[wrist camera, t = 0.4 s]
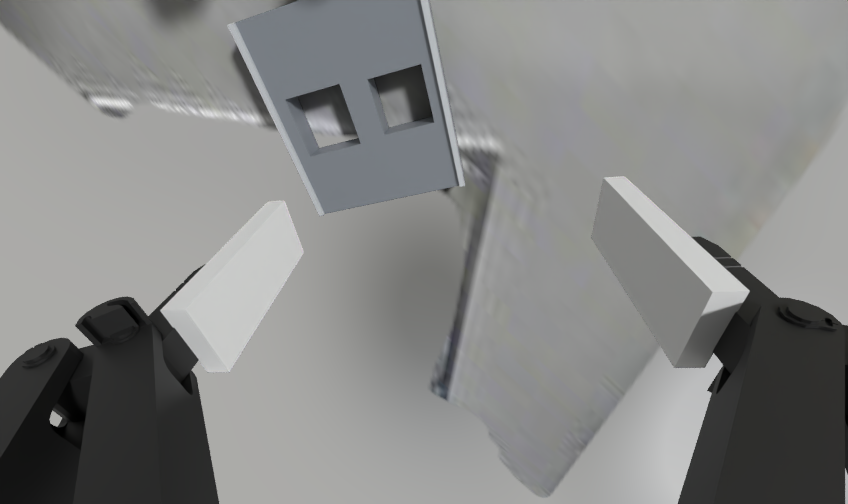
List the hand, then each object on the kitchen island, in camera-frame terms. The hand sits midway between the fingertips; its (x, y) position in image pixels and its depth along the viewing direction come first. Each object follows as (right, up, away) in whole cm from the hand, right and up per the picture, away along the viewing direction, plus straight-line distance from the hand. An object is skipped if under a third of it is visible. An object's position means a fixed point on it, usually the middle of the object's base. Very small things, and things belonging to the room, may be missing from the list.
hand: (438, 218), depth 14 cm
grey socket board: (-7, +14, +22) cm, 28 cm away
